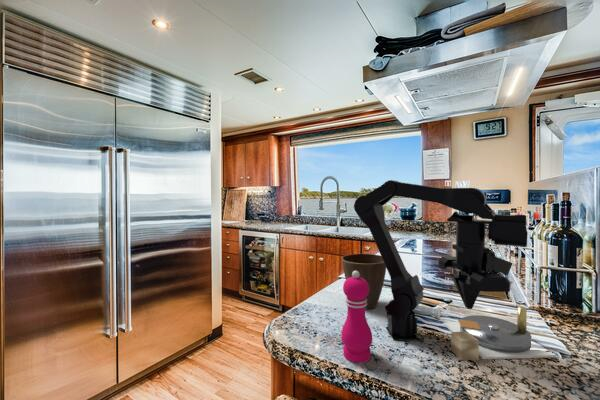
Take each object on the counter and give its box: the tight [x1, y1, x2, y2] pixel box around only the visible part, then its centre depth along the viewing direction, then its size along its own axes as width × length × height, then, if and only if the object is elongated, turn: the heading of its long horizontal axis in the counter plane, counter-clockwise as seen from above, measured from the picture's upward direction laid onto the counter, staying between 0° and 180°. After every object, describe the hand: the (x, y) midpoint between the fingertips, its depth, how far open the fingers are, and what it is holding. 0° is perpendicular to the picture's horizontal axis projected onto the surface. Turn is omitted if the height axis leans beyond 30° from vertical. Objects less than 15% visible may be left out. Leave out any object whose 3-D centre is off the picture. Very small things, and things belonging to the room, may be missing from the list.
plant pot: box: [341, 253, 387, 310], centre depth 95 cm, size 15×15×16 cm
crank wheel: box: [457, 306, 532, 352], centre depth 72 cm, size 15×15×8 cm
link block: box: [450, 331, 480, 361], centre depth 65 cm, size 4×4×4 cm
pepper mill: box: [340, 271, 373, 364], centre depth 66 cm, size 7×7×20 cm
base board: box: [442, 321, 558, 360], centre depth 72 cm, size 17×17×1 cm
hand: (468, 308), depth 66 cm, fingers closed
